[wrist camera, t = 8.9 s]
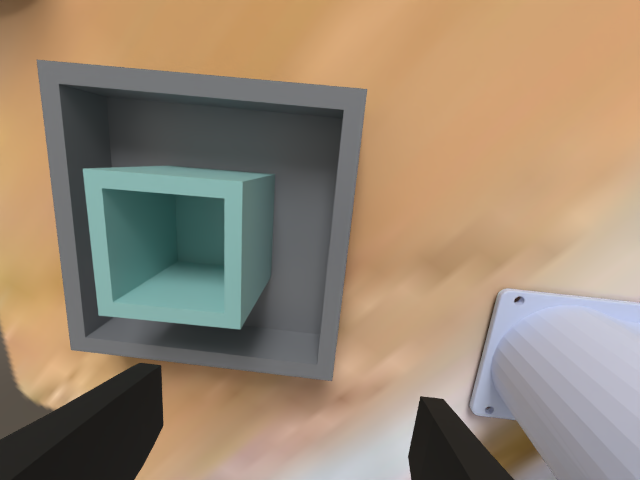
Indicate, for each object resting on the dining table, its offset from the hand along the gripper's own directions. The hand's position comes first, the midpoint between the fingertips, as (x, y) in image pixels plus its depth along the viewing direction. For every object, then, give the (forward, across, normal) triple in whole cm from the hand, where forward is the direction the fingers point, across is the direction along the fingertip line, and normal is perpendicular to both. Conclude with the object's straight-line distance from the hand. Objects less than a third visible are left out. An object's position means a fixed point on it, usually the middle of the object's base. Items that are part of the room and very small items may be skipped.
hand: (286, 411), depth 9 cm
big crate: (+9, +5, -3) cm, 11 cm away
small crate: (+9, +5, -3) cm, 10 cm away
